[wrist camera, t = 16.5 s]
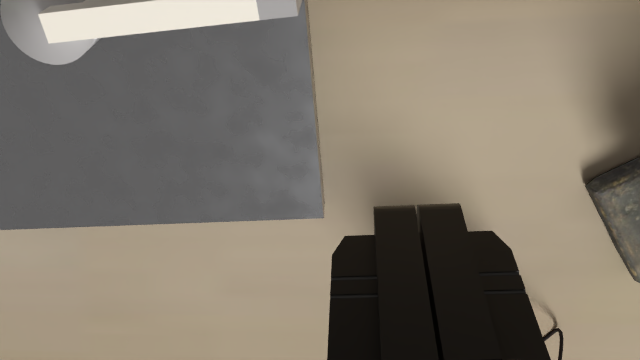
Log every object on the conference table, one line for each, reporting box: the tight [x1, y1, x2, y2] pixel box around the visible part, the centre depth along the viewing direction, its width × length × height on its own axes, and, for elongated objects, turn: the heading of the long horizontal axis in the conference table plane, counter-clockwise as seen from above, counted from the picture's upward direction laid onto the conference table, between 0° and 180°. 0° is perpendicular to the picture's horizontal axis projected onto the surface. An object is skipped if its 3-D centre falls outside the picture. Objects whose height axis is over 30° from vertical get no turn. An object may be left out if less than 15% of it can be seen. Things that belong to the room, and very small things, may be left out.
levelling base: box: [0, 0, 325, 230], centre depth 38 cm, size 24×24×6 cm
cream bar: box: [0, 0, 302, 65], centre depth 34 cm, size 16×5×4 cm, turn 97°
